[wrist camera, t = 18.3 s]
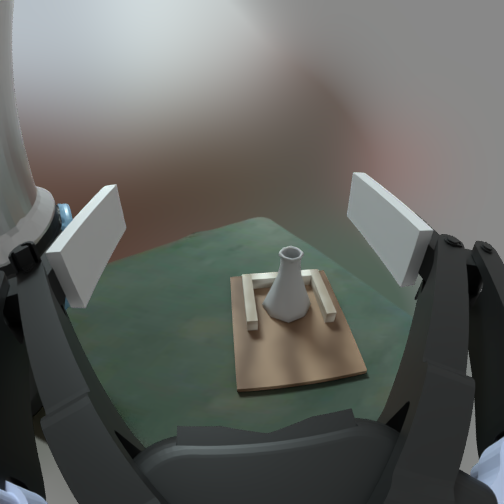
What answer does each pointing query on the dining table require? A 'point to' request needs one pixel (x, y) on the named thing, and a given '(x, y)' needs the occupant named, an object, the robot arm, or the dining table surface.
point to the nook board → (290, 337)
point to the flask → (288, 288)
